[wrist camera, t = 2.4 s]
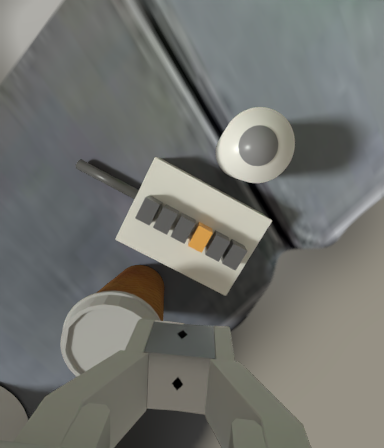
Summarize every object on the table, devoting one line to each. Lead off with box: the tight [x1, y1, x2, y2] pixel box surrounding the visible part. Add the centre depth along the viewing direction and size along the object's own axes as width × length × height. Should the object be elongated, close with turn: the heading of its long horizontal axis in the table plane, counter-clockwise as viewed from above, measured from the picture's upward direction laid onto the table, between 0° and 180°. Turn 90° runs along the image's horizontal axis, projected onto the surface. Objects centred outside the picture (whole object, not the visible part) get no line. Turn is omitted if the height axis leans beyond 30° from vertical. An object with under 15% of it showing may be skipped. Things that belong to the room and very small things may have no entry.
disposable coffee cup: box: [61, 265, 164, 377], centre depth 28 cm, size 10×10×12 cm
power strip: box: [76, 157, 272, 296], centre depth 29 cm, size 10×22×6 cm, turn 62°
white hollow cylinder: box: [216, 107, 295, 183], centre depth 26 cm, size 6×6×9 cm
